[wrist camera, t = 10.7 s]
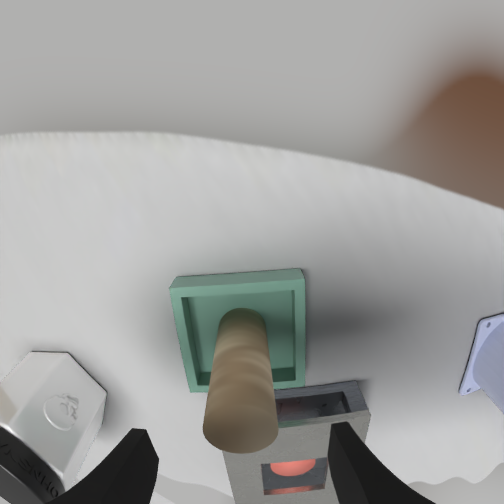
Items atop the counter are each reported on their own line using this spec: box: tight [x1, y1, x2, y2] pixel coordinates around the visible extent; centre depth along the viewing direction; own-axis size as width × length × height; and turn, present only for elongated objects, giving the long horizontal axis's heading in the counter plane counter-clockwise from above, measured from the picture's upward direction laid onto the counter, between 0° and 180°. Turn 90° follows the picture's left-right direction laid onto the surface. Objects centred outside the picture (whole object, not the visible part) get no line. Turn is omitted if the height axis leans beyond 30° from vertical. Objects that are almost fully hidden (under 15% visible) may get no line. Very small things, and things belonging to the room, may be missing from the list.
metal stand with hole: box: [222, 381, 371, 504], centre depth 21 cm, size 10×13×4 cm
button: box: [270, 459, 315, 476], centre depth 22 cm, size 4×4×1 cm
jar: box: [0, 352, 107, 504], centre depth 16 cm, size 9×8×12 cm
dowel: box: [203, 308, 279, 454], centre depth 15 cm, size 3×3×9 cm
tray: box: [169, 268, 305, 392], centre depth 19 cm, size 8×8×2 cm
